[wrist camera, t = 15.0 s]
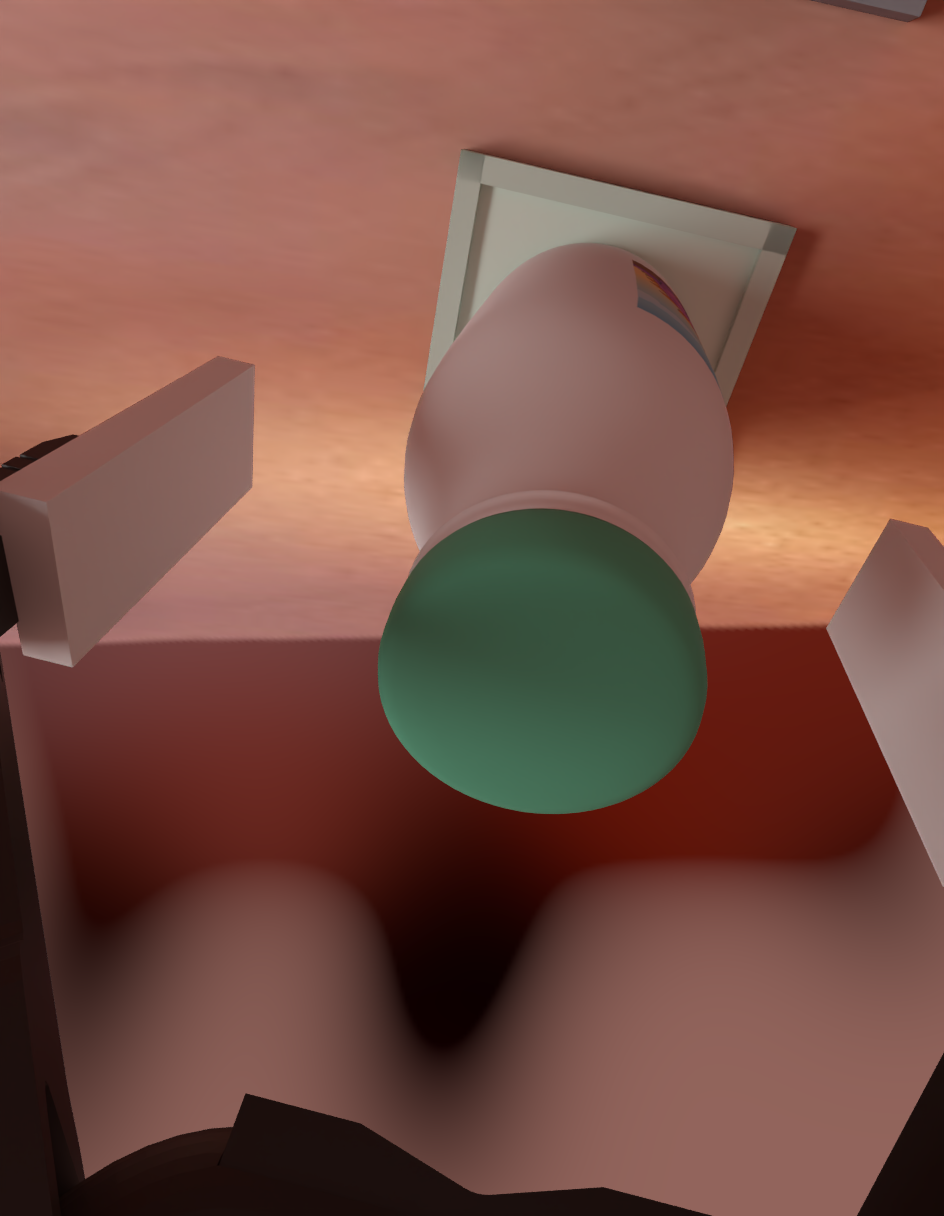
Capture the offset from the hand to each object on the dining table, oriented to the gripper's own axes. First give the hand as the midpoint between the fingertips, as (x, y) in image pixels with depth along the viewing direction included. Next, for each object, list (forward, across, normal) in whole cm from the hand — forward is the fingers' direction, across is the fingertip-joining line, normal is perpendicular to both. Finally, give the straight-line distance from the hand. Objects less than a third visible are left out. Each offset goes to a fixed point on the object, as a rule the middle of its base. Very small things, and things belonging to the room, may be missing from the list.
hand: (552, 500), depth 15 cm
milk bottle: (+14, 0, 0) cm, 14 cm away
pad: (+14, 0, 0) cm, 14 cm away
